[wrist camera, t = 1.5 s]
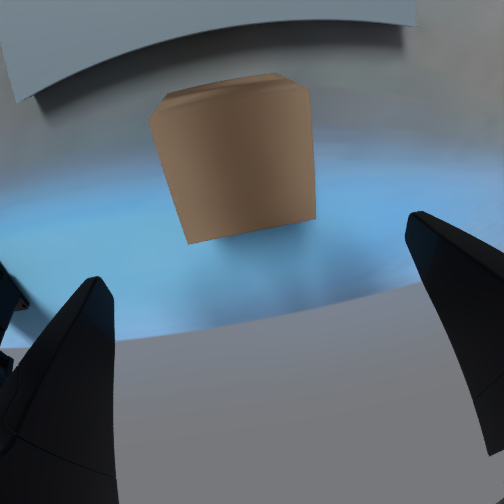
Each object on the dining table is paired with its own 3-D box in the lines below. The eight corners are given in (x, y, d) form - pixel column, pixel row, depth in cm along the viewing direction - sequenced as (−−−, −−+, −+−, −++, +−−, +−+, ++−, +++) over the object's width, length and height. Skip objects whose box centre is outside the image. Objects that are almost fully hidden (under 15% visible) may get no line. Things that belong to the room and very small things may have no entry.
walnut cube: (191, 184, 18) (188, 244, 14) (167, 93, 14) (148, 120, 10) (286, 166, 18) (316, 219, 14) (275, 72, 14) (308, 89, 10)
